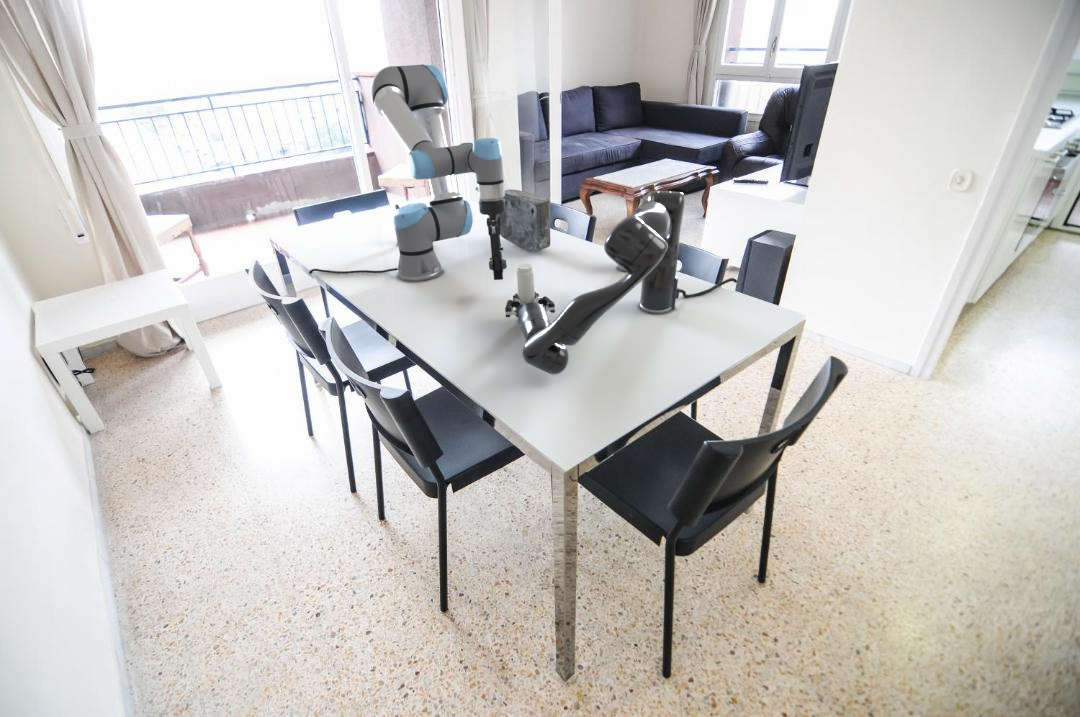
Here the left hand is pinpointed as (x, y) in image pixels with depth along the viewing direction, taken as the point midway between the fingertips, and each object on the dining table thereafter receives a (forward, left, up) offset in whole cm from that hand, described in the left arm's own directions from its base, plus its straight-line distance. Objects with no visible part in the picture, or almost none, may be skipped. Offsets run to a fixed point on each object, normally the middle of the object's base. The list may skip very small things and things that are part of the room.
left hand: (498, 275), depth 152 cm
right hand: (+13, -10, -1) cm, 16 cm away
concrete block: (-10, +47, -8) cm, 48 cm away
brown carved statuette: (-59, +40, -8) cm, 72 cm away
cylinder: (+14, -12, -8) cm, 20 cm away
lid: (0, 0, +4) cm, 4 cm away
